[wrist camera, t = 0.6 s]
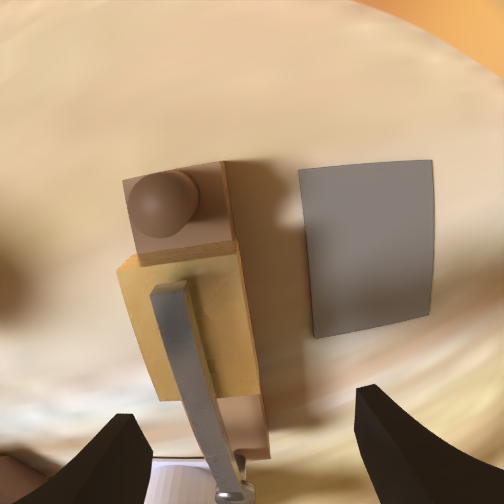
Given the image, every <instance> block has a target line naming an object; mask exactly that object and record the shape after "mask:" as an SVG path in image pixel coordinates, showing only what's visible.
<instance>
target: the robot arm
mask: <svg viewBox="0 0 504 504" xmlns="http://www.w3.org/2000/svg"><path fill="white" fill-rule="evenodd" d="M354 432H355V436H356V439H357V443H358V447H359V450H360V454H361V457H362V459H363V462H364V464H365V467H366V469H367V471H368V474H369V476H370V479H371V481H372V483H373V486H374V488H375V491H376V493H377V495H378V498H379V500H380V503H381V504H504V470H503V469H500V468H497V467H495V466H492V465H490V464H487V463H485V462H482V461H480V460H478V459H476V458H474V457H472V456H470V455H468V454H466V453H464V452H462V451H460V450H458V449H457V448H455V447H453V446H452V445H450V444H448V443H447V442H445V441H444V440H442V439H441V438H439V437H438V436H436V435H435V434H434V433H432V432H431V431H429V430H428V429H427V428H425V427H424V426H423V425H421V424H420V423H419V422H418V421H416V420H415V419H414V418H413V417H411V416H410V415H409V414H408V413H407V412H405V411H404V410H403V409H402V408H401V407H400V406H399V405H397V404H396V403H395V402H394V401H393V400H392V399H391V398H390V397H389V396H388V395H387V394H385V393H384V392H383V391H382V390H381V389H380V388H379V387H378V386H377V385H375V384H372V385H368V386H364V387H360V388H356V405H355V422H354ZM216 485H217V483H216V481H215V479H214V477H213V474H212V472H211V470H210V468H209V465H208V463H206V461H205V459H158V458H153V450H152V449H151V447H150V445H149V443H148V442H147V440H146V438H145V436H144V434H143V432H142V431H141V429H140V427H139V425H138V423H137V421H136V419H135V417H134V415H133V414H116V415H115V416H114V417H113V418H112V419H111V420H110V421H109V422H108V423H107V424H106V425H105V426H104V427H103V428H102V429H101V431H100V432H99V433H98V434H97V435H96V436H95V437H94V438H93V439H92V440H91V441H90V442H89V443H88V444H87V445H86V446H85V447H84V448H83V449H82V450H81V451H80V452H79V453H78V454H77V455H76V456H75V457H74V458H73V459H72V460H71V461H70V462H69V463H68V464H67V465H66V466H65V467H63V468H62V469H61V470H60V471H59V472H58V473H57V474H56V475H54V476H53V477H52V478H51V479H49V480H48V481H47V482H45V483H44V484H43V485H41V486H40V487H38V488H37V489H36V490H34V491H32V492H31V493H29V494H27V495H26V496H24V497H22V498H21V499H19V500H17V501H15V502H13V503H11V504H217V503H216V502H215V487H216Z"/></svg>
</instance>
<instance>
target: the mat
mask: <svg viewBox="0 0 504 504" xmlns="http://www.w3.org/2000/svg"><path fill="white" fill-rule="evenodd" d="M298 171H299V179H300V187H301V196H302V205H303V214H304V223H305V233H306V243H307V254H308V265H309V276H310V288H311V301H312V315H313V331H314V338H315V339H318V338H323V337H329V336H334V335H340V334H345V333H350V332H355V331H360V330H365V329H370V328H375V327H380V326H384V325H389V324H393V323H398V322H402V321H406V320H410V319H414V318H419V317H423V316H427V315H429V309H430V299H431V287H432V272H433V248H434V201H433V177H432V162H431V160H414V161H395V162H380V163H366V164H354V165H342V166H332V167H322V168H312V169H303V170H298Z"/></svg>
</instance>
